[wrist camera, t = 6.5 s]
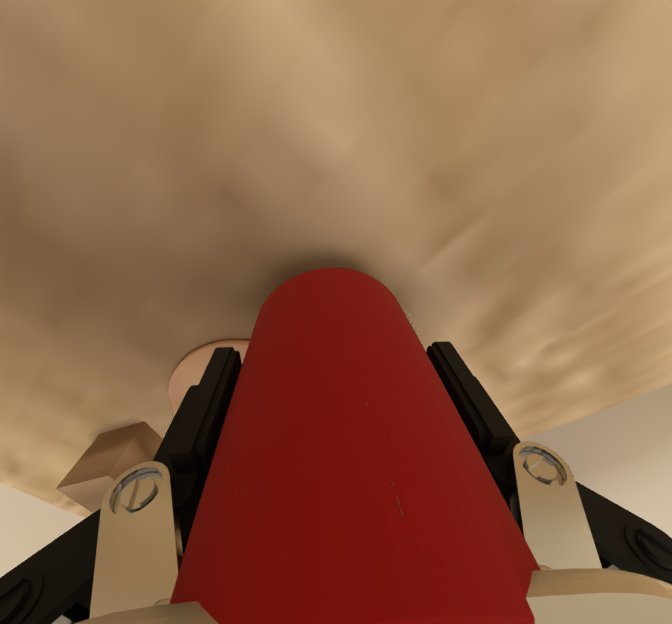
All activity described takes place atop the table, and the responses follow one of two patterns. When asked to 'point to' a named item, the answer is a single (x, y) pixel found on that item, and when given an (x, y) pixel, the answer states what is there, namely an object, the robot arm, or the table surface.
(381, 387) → the beverage can
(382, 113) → the table surface
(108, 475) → the walnut block
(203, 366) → the coaster
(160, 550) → the robot arm
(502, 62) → the table surface
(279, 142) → the table surface
